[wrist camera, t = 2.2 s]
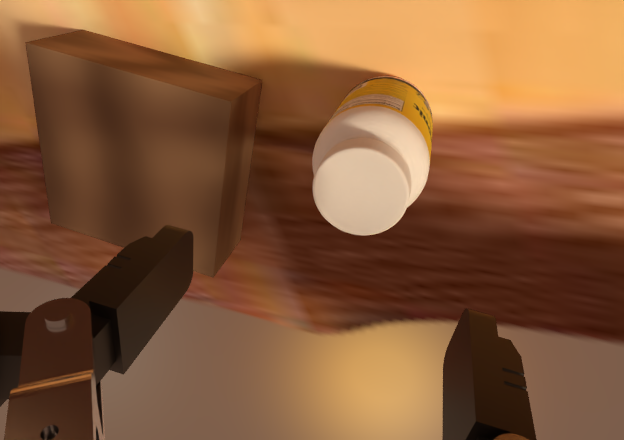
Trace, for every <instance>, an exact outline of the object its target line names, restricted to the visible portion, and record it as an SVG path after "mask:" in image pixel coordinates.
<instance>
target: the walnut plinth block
mask: <svg viewBox="0 0 624 440" xmlns="http://www.w3.org/2000/svg"><path fill="white" fill-rule="evenodd" d="M26 49H27V56H28V63H29V70H30V77H31V84H32V91H33V98H34V106H35V113H36V120H37V127H38V134H39V141H40V148H41V155H42V163H43V170H44V177H45V184H46V191H47V198H48V205H49V212H50V219H51V223H52V224H55V225H58V226H61V227H64V228H67V229H70V230H73V231H76V232H79V233H82V234H85V235H88V236H91V237H94V238H97V239H100V240H103V241H106V242H109V243H112V244H115V245H118V246H121V247H124V248H125V247H126V246H127V245H128V244H129V243H132V242H134V241H136V240H138V239H140V238H142V237H145V236H147V237H150V238H153V237H154V236H155V235H156V234H157V233H158V232H159V231H160V230H161V229H162V228H163V227H164V226H165V225H171V226H175V227H178V228H182V229H185V230H189V231H192V233H193V238H194V240H193V271H195V272H198V273H201V274H204V275H207V276H210V277H214V276H215V275H216V273H217V272H218V270H219V269H220V268H221V266H222V265H223V264H224V262H225V261H226V259H227V258H228V257H229V255H230V254H231V252H232V251H233V250H234V248H235V247H236V246H237V244H238V243H239V241H240V240H241V232H242V225H243V218H244V211H245V203H246V196H247V189H248V181H249V174H250V167H251V159H252V152H253V145H254V138H255V130H256V123H257V116H258V108H259V101H260V94H261V86H262V80H260V79H257V78H253V77H249V76H246V75H242V74H239V73H235V72H232V71H228V70H224V69H221V68H217V67H214V66H210V65H207V64H203V63H199V62H196V61H192V60H189V59H185V58H182V57H178V56H175V55H171V54H167V53H164V52H160V51H157V50H153V49H150V48H146V47H142V46H139V45H135V44H132V43H128V42H125V41H121V40H117V39H114V38H110V37H107V36H103V35H100V34H96V33H92V32H89V31H85V30H81V31H76V32H72V33H67V34H62V35H58V36H53V37H49V38H44V39H40V40H35V41H30V42H26Z"/></svg>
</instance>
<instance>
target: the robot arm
mask: <svg viewBox="0 0 624 440" xmlns="http://www.w3.org/2000/svg"><path fill="white" fill-rule="evenodd" d="M193 240H194V238H193V233H192V231H189V230H185V229H182V228H178V227H175V226H171V225H165V226H164V227H163V228H162V229H161V230H160V231H159V232H158V233H157V234H156V235H155V236H154V237H153V238H150V237H147V236H145V237H142V238H140V239H138V240H136V241H134V242H132V243H129V244H128V245H127V246H126V247H125V248H124V249H123V250H122V251H121V252H119V253H118V254H117V257H114V258H113V259H112V260H111V261H110V262H109V263H108V265H107V266H105V267H103V268H102V269H101V270H100V271H99V272H98V273H97V274H96V275H95V276H94V277H93V278H92V279H91V280H90V281H88V282H87V283H86V284H85V285H84V286H83V287H82V288H81V289H80V290H79V291H78V292H77V293H76V294H75V295H74V296H72V297H71V298H59V299H54V300H51V301H48V302H45V303H43V304H41V305H39V306H38V307H36V308H35V309H34V310H33V311H32V312H1V311H0V406H1V405H2V404H3V403H4V402H5V401H6V400H7V399H9V402H8V410H7V419H6V426H5V434H4V440H105V432H104V415H103V400H102V399H103V398H102V383H101V379H102V378H103V377H104V375H105V374H106V373H107V372H108V371H109V370H112V371H115V372H118V373H121V374H124V373H125V372H126V371H127V369H128V368H129V367H130V365H131V364H132V363H133V361H134V360H135V359H136V358H137V356H138V355H139V354H140V352H141V351H142V350H143V348H144V347H145V346H146V344H147V343H148V341H149V340H150V339H151V338H152V336H153V335H154V334H155V332H156V331H157V330H158V328H159V327H160V326H161V324H162V323H163V321H164V320H165V319H166V318H167V316H168V315H169V314H170V312H171V311H172V310H173V308H174V307H175V306H176V304H177V303H178V302H179V300H180V299H181V298H182V297H183V295H184V294H185V293H186V291H187V289H188V288H189V285H190V283H191V280H192V276H193ZM526 388H527V386H526V381H525V377H524V370H523V365H522V359H521V356H520V354H519V353H518V352H517V350H516V348H515V347H514V345H513V344H512V342H511V340H508V339H505V338H501V337H498V332H497V325H496V319H495V317H494V316H493V315H489V314H486V313H482V312H478V311H475V310H471V309H468V308H466V309H465V310H464V312H463V313H462V316H461V318H460V320H459V322H458V325H457V327H456V329H455V331H454V334H453V336H452V338H451V341H450V343H449V345H448V347H447V350H446V354H445V358H444V364H443V440H536V435H535V430H534V424H533V419H532V413H531V408H530V403H529V397H528V392H527V391H526Z"/></svg>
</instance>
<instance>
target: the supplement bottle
mask: <svg viewBox="0 0 624 440" xmlns="http://www.w3.org/2000/svg"><path fill="white" fill-rule="evenodd" d="M432 123H433V120H432V113H431V109H430V106H429V103H428V101H427V99H426V98H425V96H424V95H423V93H422V92H421V91H420V90H419V89H418V88H417V87H416V86H415V85H413V84H412V83H410V82H408V81H406V80H404V79H401V78H398V77H393V76H379V77H374V78H370V79H368V80H365V81H363V82H361V83H360V84H358V85H357V86H356V87H354V88H353V89H352V90H351V91H350V92H349V93H348V95H347V96H346V97H345V99H344V100H343V101H342V103H341V104H340V106H339V107H338V109H337V110H336V112H335V113H334V115H333V116H332V117H331V119H330V120H329V122H328V123H327V125H326V126H325V127H324V129H323V130H322V132H321V133H320V135H319V137H318V139H317V141H316V144H315V147H314V151H313V156H312V167H313V174H314V179H313V197H314V201H315V204H316V206H317V208H318V210H319V211H320V213H321V214H322V216H323V217H324V218H325V219H326V220H327V221H328V222H329V223H330V224H332V225H333V226H334V227H336V228H338V229H340V230H342V231H344V232H347V233H350V234H354V235H374V234H378V233H381V232H383V231H386V230H388V229H389V228H391V227H392V226H394V225H395V224H396V223H397V222H398V221H399V220H400V219H401V218H402V216H403V214H404V213H405V211H406V209H407V207H409V206H410V205H411V204H412V203H413V202H414V201H415V200H416V199H417V198H418V196H419V195H420V193H421V192H422V190H423V188H424V186H425V184H426V181H427V178H428V173H429V167H430V156H431V142H432V127H433V126H432Z"/></svg>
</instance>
